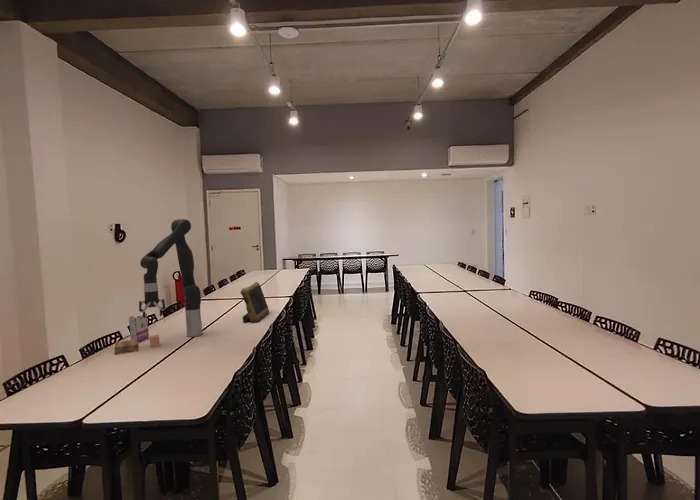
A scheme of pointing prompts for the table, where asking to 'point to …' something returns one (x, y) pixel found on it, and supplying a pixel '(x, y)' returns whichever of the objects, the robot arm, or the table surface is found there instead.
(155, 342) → the terracotta block
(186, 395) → the table surface
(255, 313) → the tablet
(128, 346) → the walnut base
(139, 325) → the candy bar box
